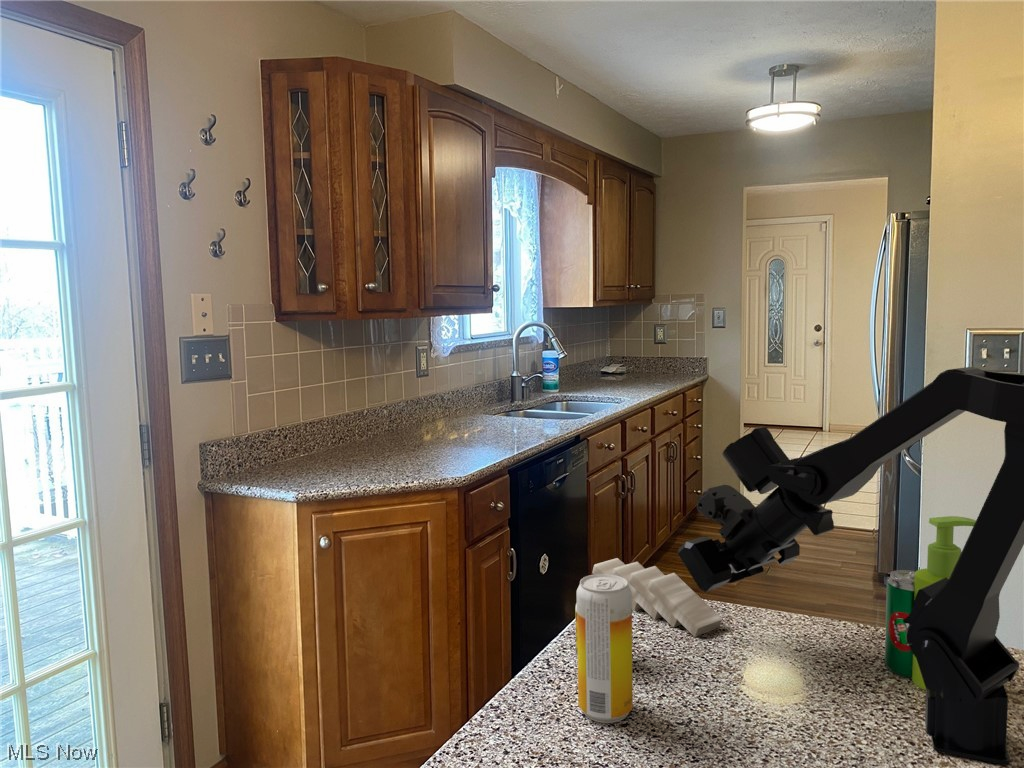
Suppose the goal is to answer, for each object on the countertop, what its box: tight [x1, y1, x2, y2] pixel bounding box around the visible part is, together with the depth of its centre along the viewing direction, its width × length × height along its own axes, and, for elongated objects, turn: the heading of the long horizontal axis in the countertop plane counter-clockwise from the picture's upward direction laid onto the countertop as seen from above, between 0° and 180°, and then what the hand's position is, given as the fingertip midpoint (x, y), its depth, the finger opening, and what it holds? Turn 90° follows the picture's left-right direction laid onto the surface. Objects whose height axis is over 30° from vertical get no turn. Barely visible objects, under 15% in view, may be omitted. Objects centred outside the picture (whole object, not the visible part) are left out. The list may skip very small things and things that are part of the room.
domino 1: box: [591, 557, 644, 612], centre depth 117 cm, size 2×5×10 cm
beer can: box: [576, 574, 634, 724], centre depth 84 cm, size 6×6×15 cm
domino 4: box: [647, 572, 723, 638], centre depth 107 cm, size 2×5×10 cm
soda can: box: [884, 569, 917, 679], centre depth 91 cm, size 5×5×12 cm
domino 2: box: [612, 561, 663, 620], centre depth 113 cm, size 2×5×10 cm
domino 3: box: [628, 565, 683, 628], centre depth 110 cm, size 2×5×10 cm
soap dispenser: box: [911, 515, 977, 691], centre depth 87 cm, size 6×7×20 cm
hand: (705, 582), depth 103 cm, fingers closed
